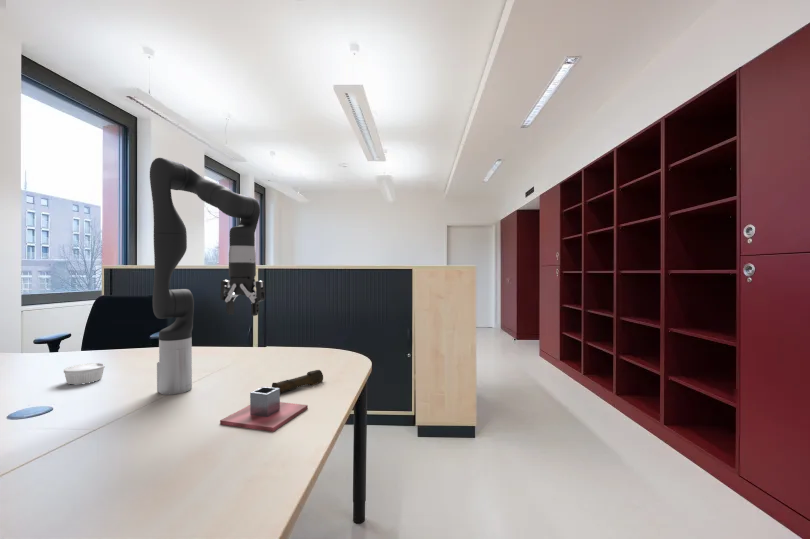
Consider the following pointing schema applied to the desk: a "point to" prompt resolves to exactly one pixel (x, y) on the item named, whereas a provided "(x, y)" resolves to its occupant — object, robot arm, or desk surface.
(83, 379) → the ramekin
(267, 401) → the square socket
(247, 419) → the post base
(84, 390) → the desk surface
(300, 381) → the hand tool
